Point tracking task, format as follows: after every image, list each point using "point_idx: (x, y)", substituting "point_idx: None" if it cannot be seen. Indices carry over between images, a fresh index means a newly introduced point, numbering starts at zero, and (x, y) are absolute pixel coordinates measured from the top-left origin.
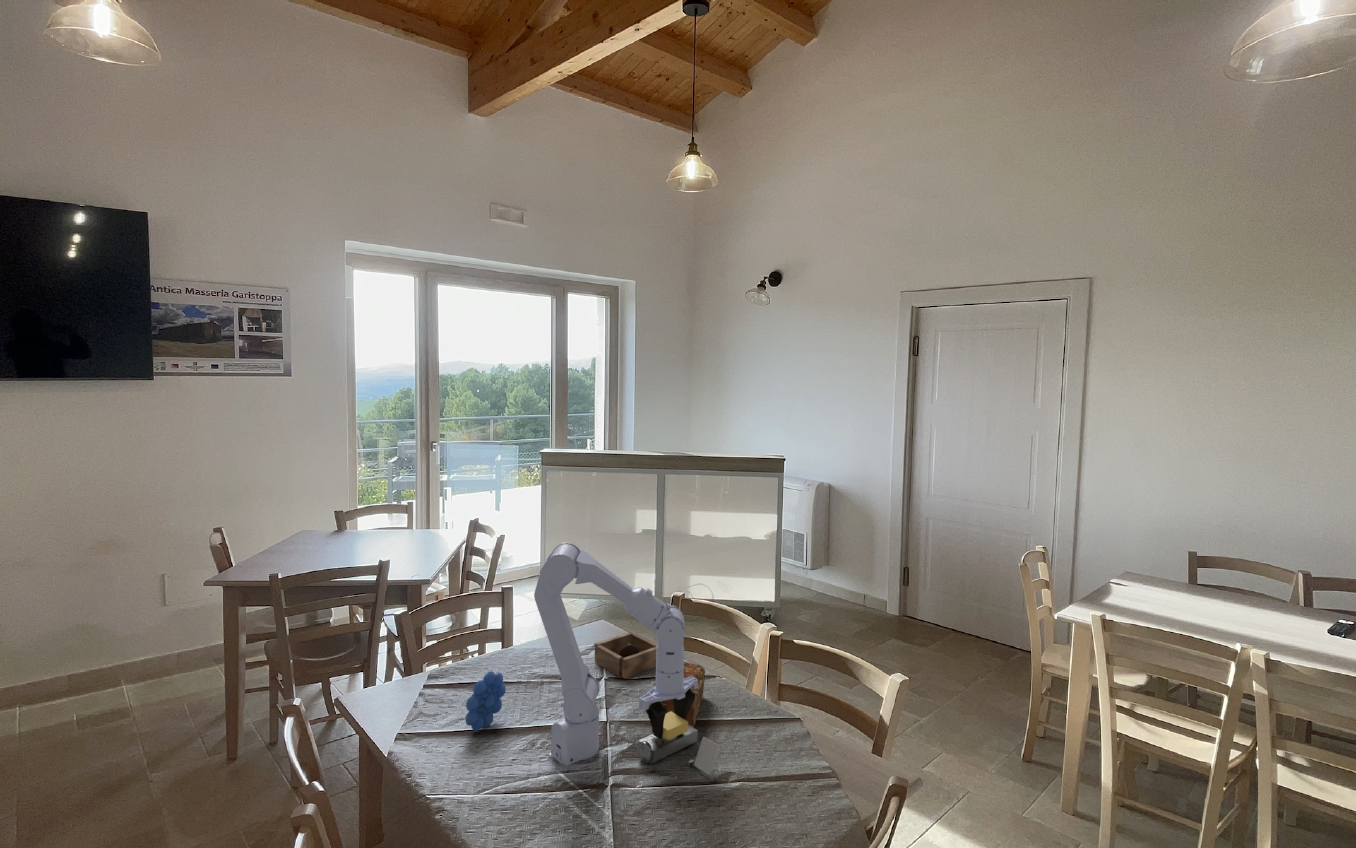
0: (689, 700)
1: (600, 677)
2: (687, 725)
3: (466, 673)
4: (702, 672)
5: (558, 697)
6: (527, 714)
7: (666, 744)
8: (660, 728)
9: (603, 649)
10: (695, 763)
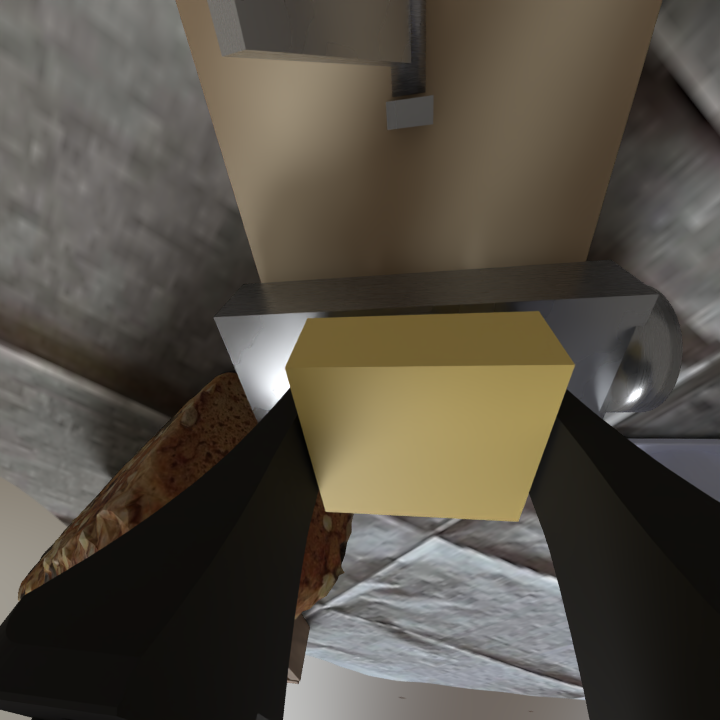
0: (128, 639)
1: (329, 609)
2: (300, 346)
3: (526, 684)
4: (25, 588)
5: (456, 613)
6: (562, 613)
7: (512, 308)
8: (606, 425)
9: (293, 674)
10: (403, 47)
